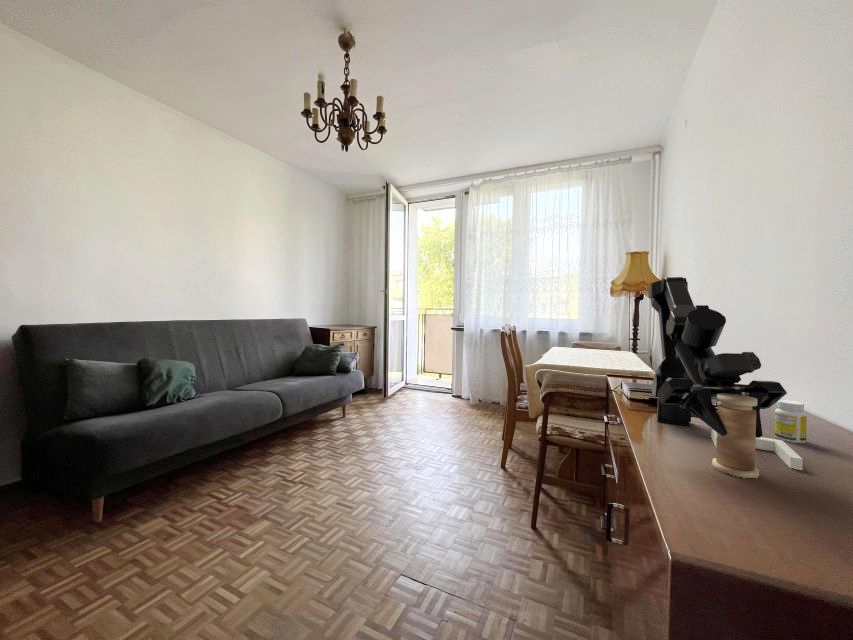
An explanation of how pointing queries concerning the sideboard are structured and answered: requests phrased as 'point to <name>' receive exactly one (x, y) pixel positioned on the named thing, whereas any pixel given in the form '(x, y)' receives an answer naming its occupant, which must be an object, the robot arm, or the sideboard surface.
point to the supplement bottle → (790, 421)
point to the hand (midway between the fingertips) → (741, 435)
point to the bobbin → (736, 436)
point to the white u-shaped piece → (776, 446)
